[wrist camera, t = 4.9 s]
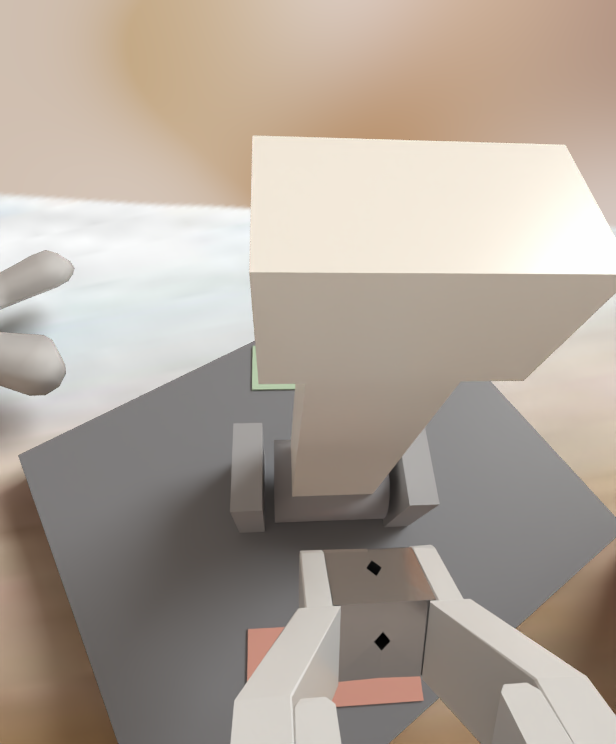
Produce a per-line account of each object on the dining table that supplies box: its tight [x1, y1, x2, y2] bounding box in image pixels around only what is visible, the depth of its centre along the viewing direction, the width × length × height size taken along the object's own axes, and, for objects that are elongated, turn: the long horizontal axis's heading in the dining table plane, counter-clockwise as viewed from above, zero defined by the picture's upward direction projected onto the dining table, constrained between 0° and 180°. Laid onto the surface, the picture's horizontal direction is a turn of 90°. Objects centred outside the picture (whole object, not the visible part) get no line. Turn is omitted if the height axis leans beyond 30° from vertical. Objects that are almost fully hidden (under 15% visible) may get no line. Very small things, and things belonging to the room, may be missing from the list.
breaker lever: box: [249, 136, 616, 523], centre depth 12 cm, size 3×4×14 cm
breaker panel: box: [18, 341, 616, 744], centre depth 17 cm, size 20×16×6 cm
